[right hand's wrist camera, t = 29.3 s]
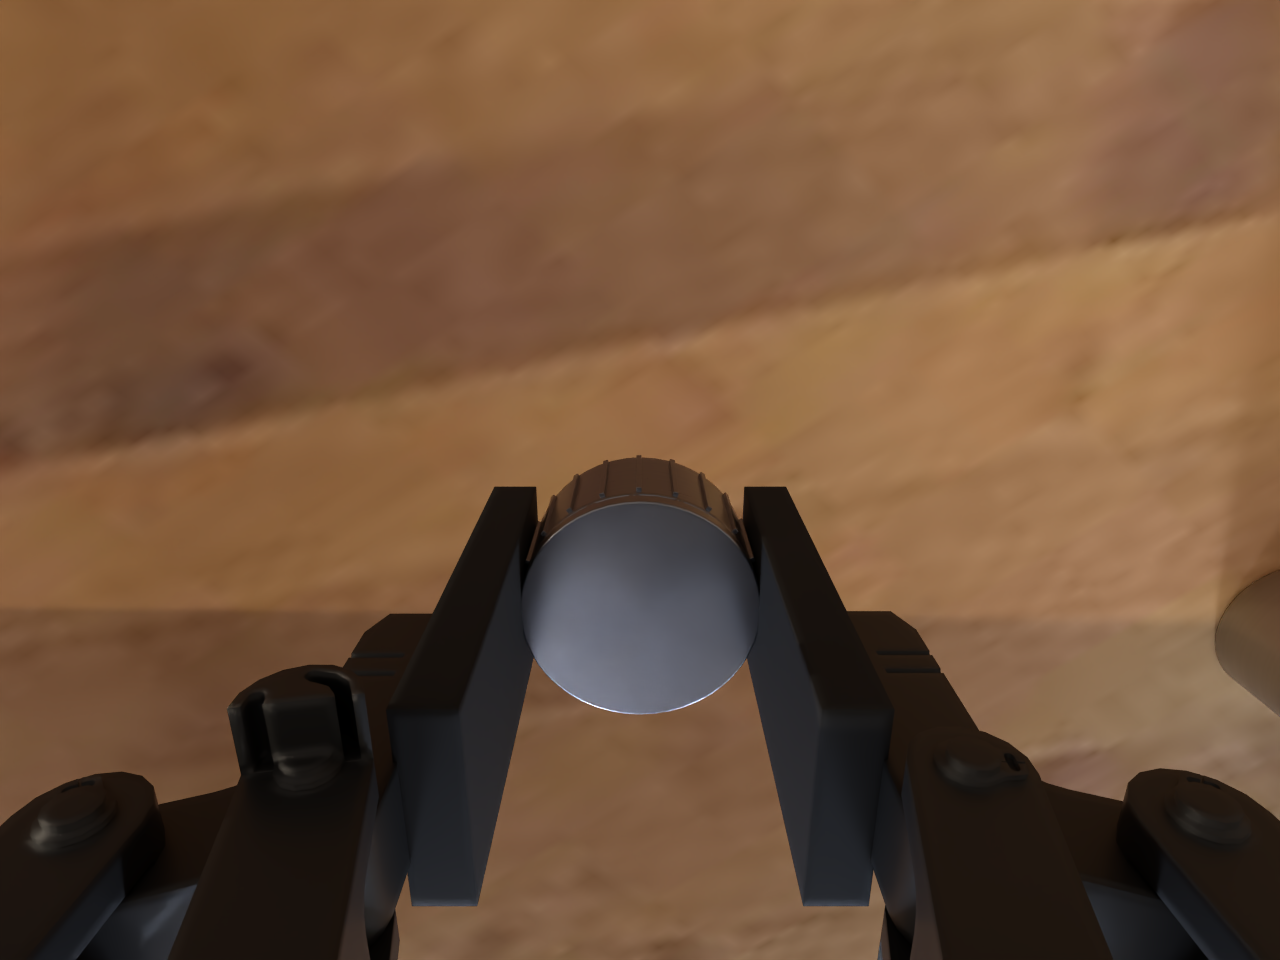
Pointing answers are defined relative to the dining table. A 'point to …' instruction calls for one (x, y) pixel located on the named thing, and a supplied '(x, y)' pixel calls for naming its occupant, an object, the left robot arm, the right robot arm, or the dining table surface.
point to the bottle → (1253, 640)
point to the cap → (640, 587)
